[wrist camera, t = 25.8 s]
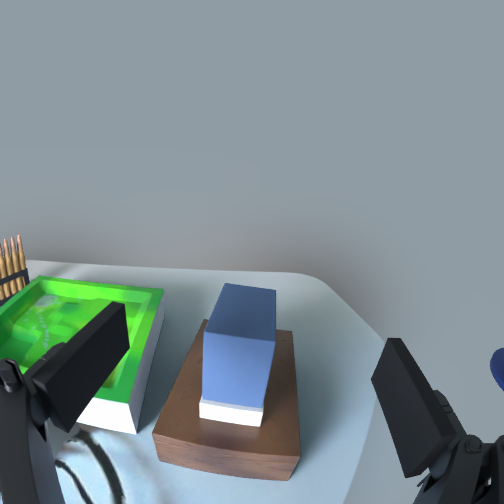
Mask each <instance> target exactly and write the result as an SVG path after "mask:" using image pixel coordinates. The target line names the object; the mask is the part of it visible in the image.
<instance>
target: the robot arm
mask: <svg viewBox="0 0 504 504" xmlns="http://www.w3.org/2000/svg"><path fill="white" fill-rule="evenodd" d="M129 349H130V343H129V336H128V328H127V319H126V309H125V304H124V303H119V302H115V301H112V302H111V303H109V304H108V305H107V306H106V307H105V308H104V309H103V310H102V311H100V312H99V313H98V314H97V315H96V316H95V317H94V318H93V319H91V320H90V321H89V322H88V323H87V324H86V325H85V326H84V327H83V328H82V329H80V330H79V331H78V332H77V333H76V334H75V335H74V336H73V337H72V338H71V339H70V340H69V341H68V342H66V343H65V342H60V343H58V344H56V345H54V346H52V347H51V348H50V349H49V350H48V351H47V352H46V354H44V355H42V356H41V359H40V358H39V359H38V360H37V361H36V362H35V363H34V364H33V365H32V366H31V367H30V368H29V369H28V370H27V371H26V372H25V373H24V374H23V375H22V372H21V370H20V368H19V365H18V363H17V362H16V361H15V360H13V359H11V358H4V359H0V493H1V495H2V501H3V504H65V501H64V498H63V494H62V491H61V487H60V484H59V480H58V476H57V472H56V468H55V463H54V459H53V454H52V448H51V444H50V437H49V430H48V425H47V423H46V421H47V419H48V418H49V417H50V419H51V421H52V422H53V424H54V426H56V427H58V428H60V429H61V430H63V431H65V432H67V433H69V431H70V430H71V428H72V427H73V425H74V424H75V423H76V421H77V420H78V418H79V417H80V415H81V414H82V413H83V411H84V410H85V408H86V407H87V406H88V404H89V403H90V401H91V400H92V399H93V397H94V396H95V394H96V393H97V392H98V390H99V389H100V388H101V386H102V385H103V383H104V382H105V381H106V379H107V378H108V377H109V375H110V374H111V373H112V371H113V370H114V369H115V367H116V366H117V365H118V363H119V362H120V361H121V359H122V358H123V357H124V355H125V354H126V353H127V351H128V350H129ZM371 381H372V384H373V386H374V389H375V391H376V394H377V397H378V399H379V402H380V405H381V407H382V410H383V413H384V416H385V418H386V421H387V424H388V427H389V430H390V433H391V436H392V439H393V442H394V445H395V448H396V451H397V454H398V457H399V460H400V463H401V466H402V470H403V473H404V476H405V478H409V477H413V476H417V475H421V474H422V472H424V471H425V470H426V469H427V468H429V471H430V473H429V474H428V475H427V476H426V477H425V478H424V479H423V480H422V481H421V482H420V483H419V484H418V485H417V486H418V487H419V486H420V485H421V484H422V483H423V485H422V487H421V489H420V491H419V493H418V495H417V497H416V499H415V501H414V503H413V504H504V435H502V436H500V437H499V438H498V439H497V440H496V442H495V443H482V441H481V440H480V439H479V438H478V437H477V436H475V435H467V434H466V432H465V430H464V429H463V427H462V425H461V423H460V421H459V420H458V418H457V416H456V414H455V413H453V409H452V407H451V406H450V404H449V402H448V401H447V399H446V397H445V396H444V395H443V394H442V393H440V392H439V391H438V390H432V388H431V386H430V384H429V383H428V381H427V379H426V378H425V376H424V374H423V373H422V371H421V370H420V368H419V366H418V365H417V363H416V362H415V360H414V358H413V357H412V355H411V354H410V352H409V351H408V349H407V347H406V346H405V344H404V343H403V341H402V340H401V339H400V338H388V339H387V342H386V344H385V347H384V349H383V352H382V354H381V357H380V359H379V362H378V364H377V366H376V369H375V371H374V373H373V376H372V378H371ZM489 479H491V484H490V485H488V480H489Z"/></svg>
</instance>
